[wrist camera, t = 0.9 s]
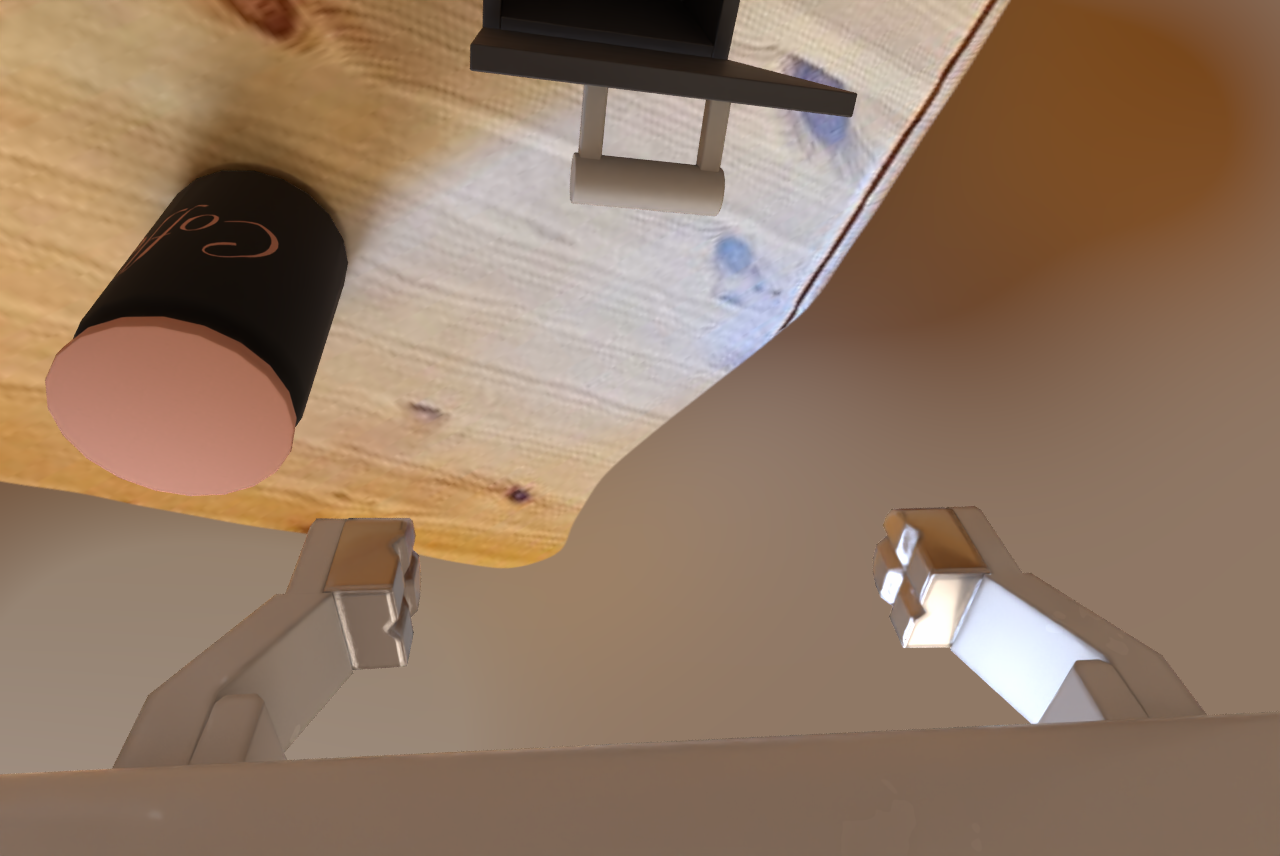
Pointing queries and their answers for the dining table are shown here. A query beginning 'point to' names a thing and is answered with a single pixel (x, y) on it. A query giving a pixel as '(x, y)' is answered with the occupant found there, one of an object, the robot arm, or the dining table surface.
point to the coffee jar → (205, 339)
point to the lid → (651, 73)
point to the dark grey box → (624, 22)
